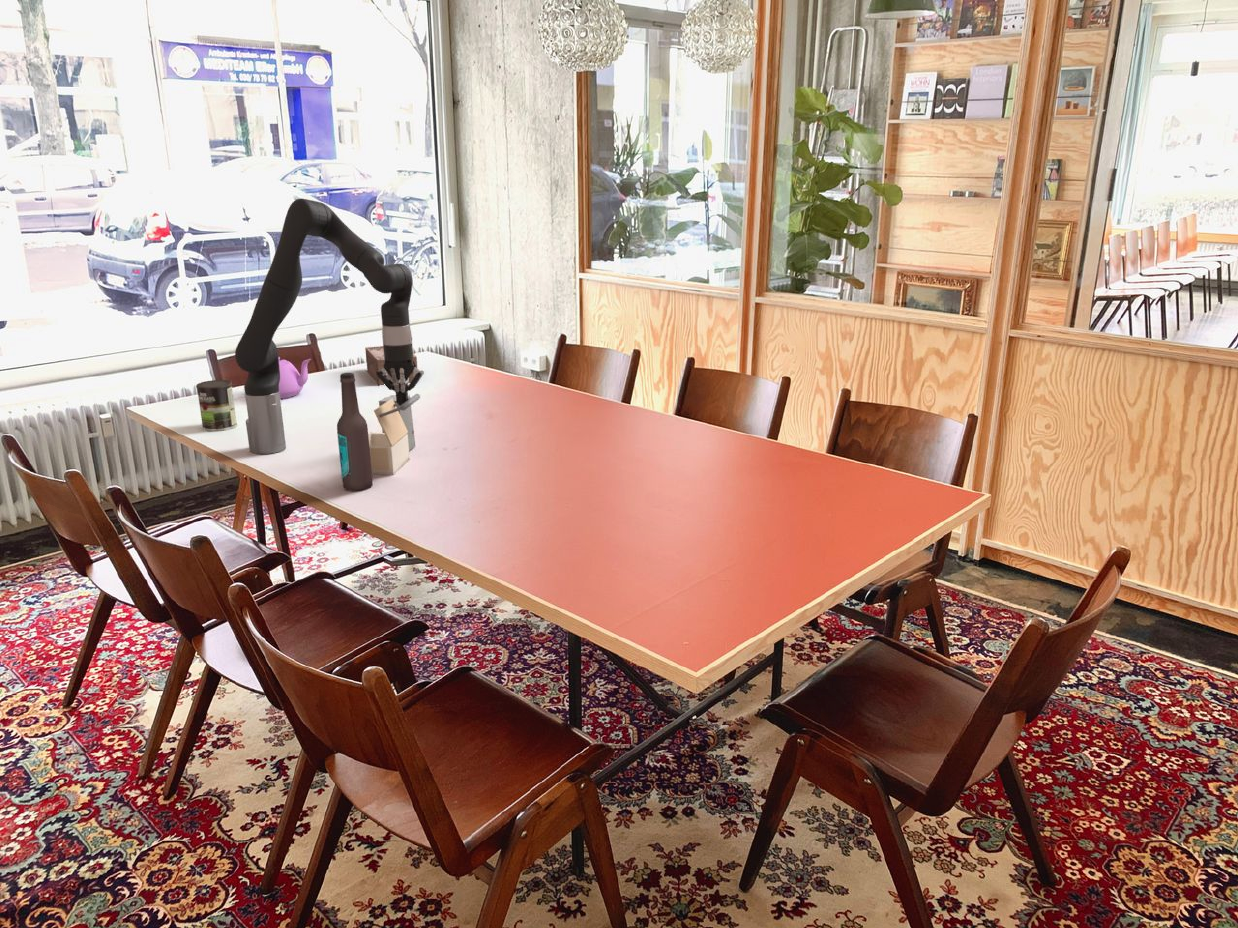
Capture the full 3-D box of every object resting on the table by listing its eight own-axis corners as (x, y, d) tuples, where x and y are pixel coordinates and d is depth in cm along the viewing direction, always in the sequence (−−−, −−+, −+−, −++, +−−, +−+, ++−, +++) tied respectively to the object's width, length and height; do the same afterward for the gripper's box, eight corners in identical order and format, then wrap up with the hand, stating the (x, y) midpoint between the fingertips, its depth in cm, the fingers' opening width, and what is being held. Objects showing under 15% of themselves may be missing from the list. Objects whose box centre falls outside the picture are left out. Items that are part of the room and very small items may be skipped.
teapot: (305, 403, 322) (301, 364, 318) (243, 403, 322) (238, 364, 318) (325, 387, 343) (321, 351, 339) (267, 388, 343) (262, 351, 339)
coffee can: (220, 433, 288) (214, 388, 284) (195, 429, 292) (188, 385, 287) (244, 424, 297) (239, 381, 293) (220, 421, 301) (213, 378, 296)
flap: (373, 410, 245) (401, 400, 243) (390, 398, 257) (417, 388, 255) (390, 446, 247) (418, 436, 246) (406, 432, 260) (433, 422, 258)
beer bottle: (341, 484, 243) (329, 372, 234) (370, 480, 246) (360, 369, 236) (345, 493, 237) (333, 378, 227) (375, 489, 239) (364, 375, 230)
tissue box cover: (367, 372, 368) (365, 347, 365) (403, 369, 374) (402, 344, 370) (379, 386, 346) (377, 360, 343) (418, 382, 351) (416, 356, 348)
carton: (353, 473, 251) (351, 447, 248) (372, 457, 264) (370, 432, 261) (393, 475, 249) (390, 448, 247) (410, 459, 263) (408, 433, 260)
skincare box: (405, 455, 266) (400, 401, 261) (381, 453, 268) (377, 400, 263) (416, 446, 274) (412, 394, 269) (394, 445, 275) (389, 393, 270)
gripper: (368, 344, 242) (374, 408, 247) (417, 344, 240) (422, 409, 246) (378, 338, 249) (384, 401, 254) (426, 339, 247) (430, 402, 253)
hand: (402, 405), depth 250 cm, fingers closed
